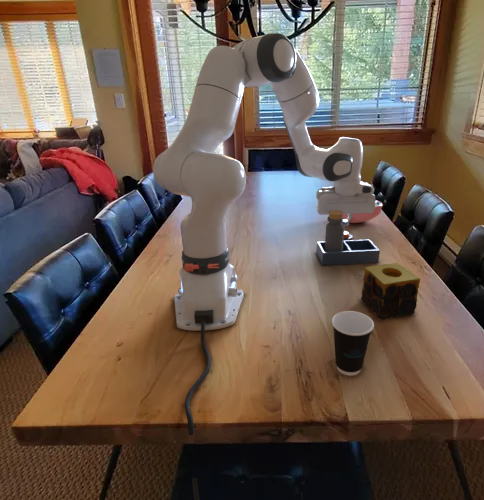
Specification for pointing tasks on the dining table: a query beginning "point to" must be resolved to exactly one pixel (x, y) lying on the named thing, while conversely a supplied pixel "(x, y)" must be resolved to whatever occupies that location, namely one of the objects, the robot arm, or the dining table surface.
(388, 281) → the candle
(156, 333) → the dining table surface
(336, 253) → the tray
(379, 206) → the cell model
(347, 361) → the dixie cup
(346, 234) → the button
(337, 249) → the bottle
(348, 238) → the control block
